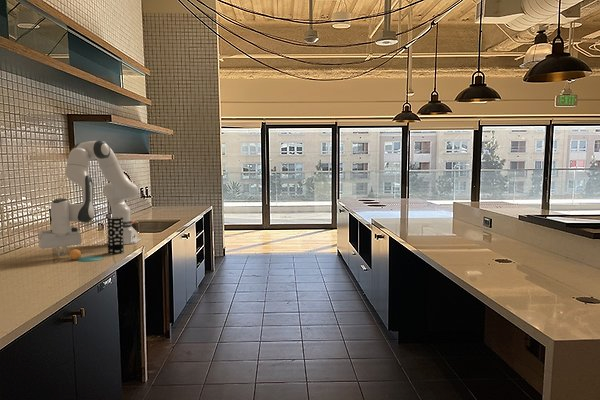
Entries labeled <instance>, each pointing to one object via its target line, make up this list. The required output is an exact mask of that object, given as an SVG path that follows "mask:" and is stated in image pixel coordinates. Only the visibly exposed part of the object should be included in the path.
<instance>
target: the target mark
mask: <svg viewBox="0 0 600 400" xmlns="http://www.w3.org/2000/svg"><path fill="white" fill-rule="evenodd" d="M100 259H101V260H103V259H104V257H103V256H99V255H89V256H88V255H87V256H81V257H80V258H79V259H77V260H76V261H78V262H84V263H85V262H95V261H96V260H97V261H100ZM97 261H96V262H97Z"/></svg>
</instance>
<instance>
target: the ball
mask: <svg viewBox="0 0 600 400" xmlns="http://www.w3.org/2000/svg"><path fill="white" fill-rule="evenodd" d="M81 257H82V252H81V251H80V250H79V249H72V250H70V252H69V258H70V259H71V260H73V261H77V259H79V258H81Z"/></svg>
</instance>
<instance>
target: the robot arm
mask: <svg viewBox="0 0 600 400" xmlns="http://www.w3.org/2000/svg"><path fill="white" fill-rule="evenodd" d="M66 161H67V162H66V167H65V176H66V178H67V179H68V180H70V182H72V183H74V184H77V185H79V186H80V187H81V189H82V203H72V202H69V200H68V199H67V198H63V197H62V198H56V199H53V200H52V201H51V204H50V219H51V222H50V229H47V230H41V231H40V232H39V233H38V239H39V242H38V248H40V249H42V250H43V249H44V250H45V249H53V248H55V249H54V250H55V251H56V252H57V256H65V252H66V250H67V247H72V246H73V247H74V246H80V245H82V244H83V241H82V235H81V233H80V230H81V228H79V227H78V226H73V225H71V223H70V222H80V223H85V224H87V223H89V222H91V221H92V220H93V219H94V218H95V216H96V213H95V212H96V211H95V205H94V184H93V179H92V177H91V175H89V163H90V161H97V165H98V166H99V168H100V171H101V173H102V175H103V177H104V178H105V180H107V181H108V183H106V184H104V185H103V186H102V187H103V188H102V194H103V195H104V197H105V198H106V199H107V200H108V203H109V206H110V211H111V217H123V240H124V245H131V244H132V245H133V244H137V243H138V242H140V241H141V240H142V238H139V237H138V232H137V230H136V229H135V228H134V227H133V224H134V220H131V208H130V206H128V205H127V203H126V201H129V200H134V199H136V198H137V197H138V195H139V187H138V185H136V184H135V183H134V182H132V181H131V180H130V179H129V178H128V176H127V175H125V173H124V171H123V169H122V167H121V165H120V163H119V159H118V158H117V156H116V154H115V152H114V150H112V148H111V147H110V145H109V144H108V142H106V141H105V140H88V141H84V142H78V143H77V144H75V145H74V147H73V148H72V149H71V150H70V152H69V154H68V158H67V160H66ZM106 243H107V244H108V240H107V241H106ZM61 247H62V250H61V251H60V248H61Z"/></svg>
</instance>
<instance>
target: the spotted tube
mask: <svg viewBox="0 0 600 400" xmlns="http://www.w3.org/2000/svg"><path fill="white" fill-rule="evenodd" d="M106 224H107V241H108V243H107V254H108V255H121V254H123V253H125V252H124V251H125V250H124V249H125V248H124V245H125V244H124V240H123V217H112V216H111V217H107V219H106Z"/></svg>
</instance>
